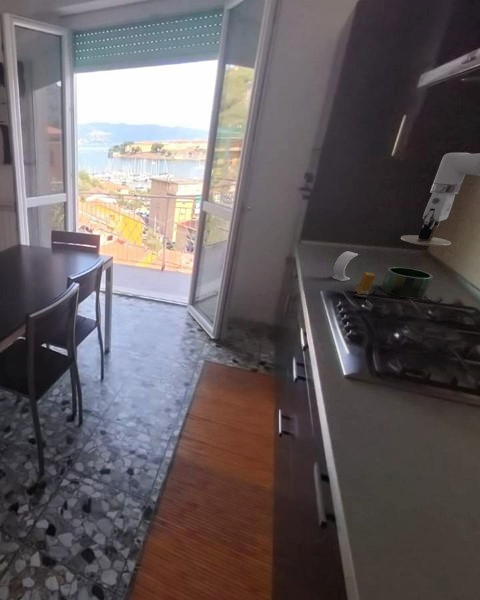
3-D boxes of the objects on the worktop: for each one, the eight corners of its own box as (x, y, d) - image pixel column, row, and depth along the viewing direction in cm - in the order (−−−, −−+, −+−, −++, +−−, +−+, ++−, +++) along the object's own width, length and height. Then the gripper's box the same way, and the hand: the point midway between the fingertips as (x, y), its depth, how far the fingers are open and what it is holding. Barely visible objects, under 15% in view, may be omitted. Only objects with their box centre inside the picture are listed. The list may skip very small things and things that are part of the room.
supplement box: (367, 299, 139) (376, 275, 135) (357, 298, 140) (365, 274, 136) (365, 296, 142) (373, 272, 138) (354, 295, 143) (362, 271, 139)
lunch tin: (429, 294, 143) (438, 274, 140) (415, 301, 137) (424, 280, 134) (389, 283, 154) (396, 265, 151) (374, 290, 148) (381, 270, 144)
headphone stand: (349, 279, 159) (358, 253, 154) (340, 281, 157) (348, 255, 152) (339, 276, 163) (347, 251, 158) (330, 278, 161) (337, 252, 156)
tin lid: (456, 243, 136) (463, 226, 133) (441, 249, 129) (449, 231, 126) (408, 236, 147) (414, 220, 145) (393, 241, 141) (399, 224, 138)
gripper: (450, 191, 123) (430, 243, 131) (466, 188, 131) (446, 237, 139) (422, 189, 129) (404, 239, 137) (440, 186, 137) (422, 233, 144)
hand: (426, 237), depth 138 cm, fingers closed on tin lid, 4 cm apart
